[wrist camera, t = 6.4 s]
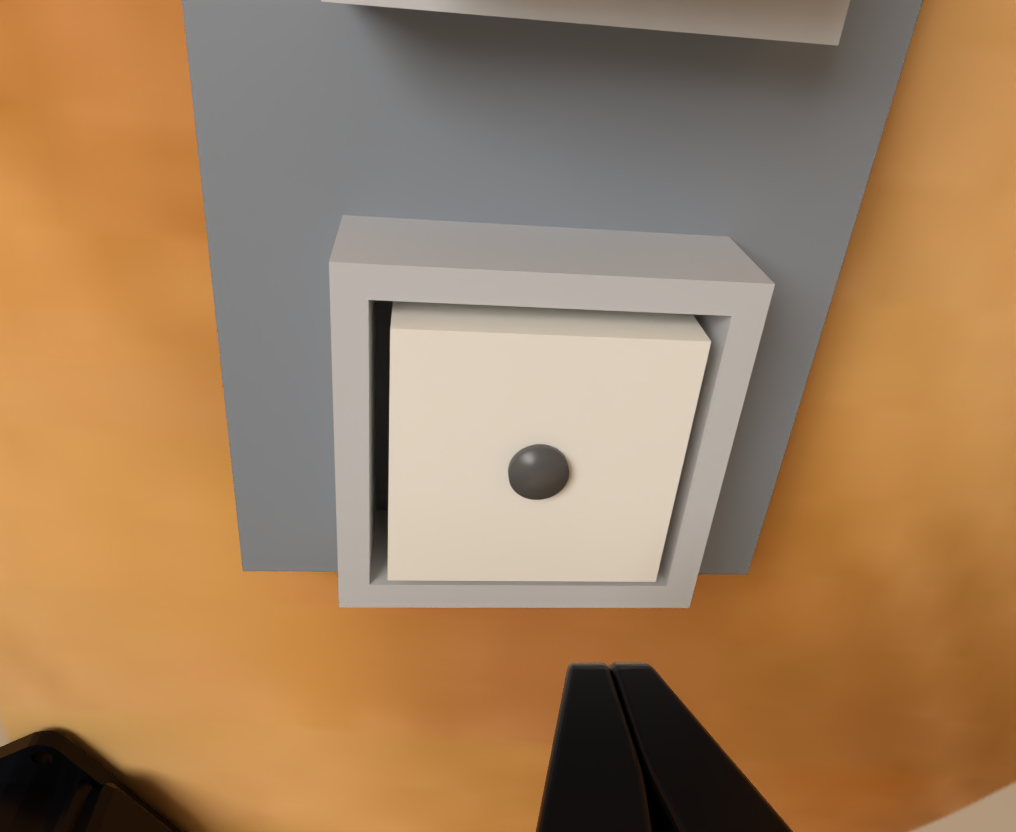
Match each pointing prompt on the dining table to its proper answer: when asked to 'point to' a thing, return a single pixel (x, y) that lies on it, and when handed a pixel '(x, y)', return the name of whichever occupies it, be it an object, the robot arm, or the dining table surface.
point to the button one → (536, 440)
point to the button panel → (522, 233)
